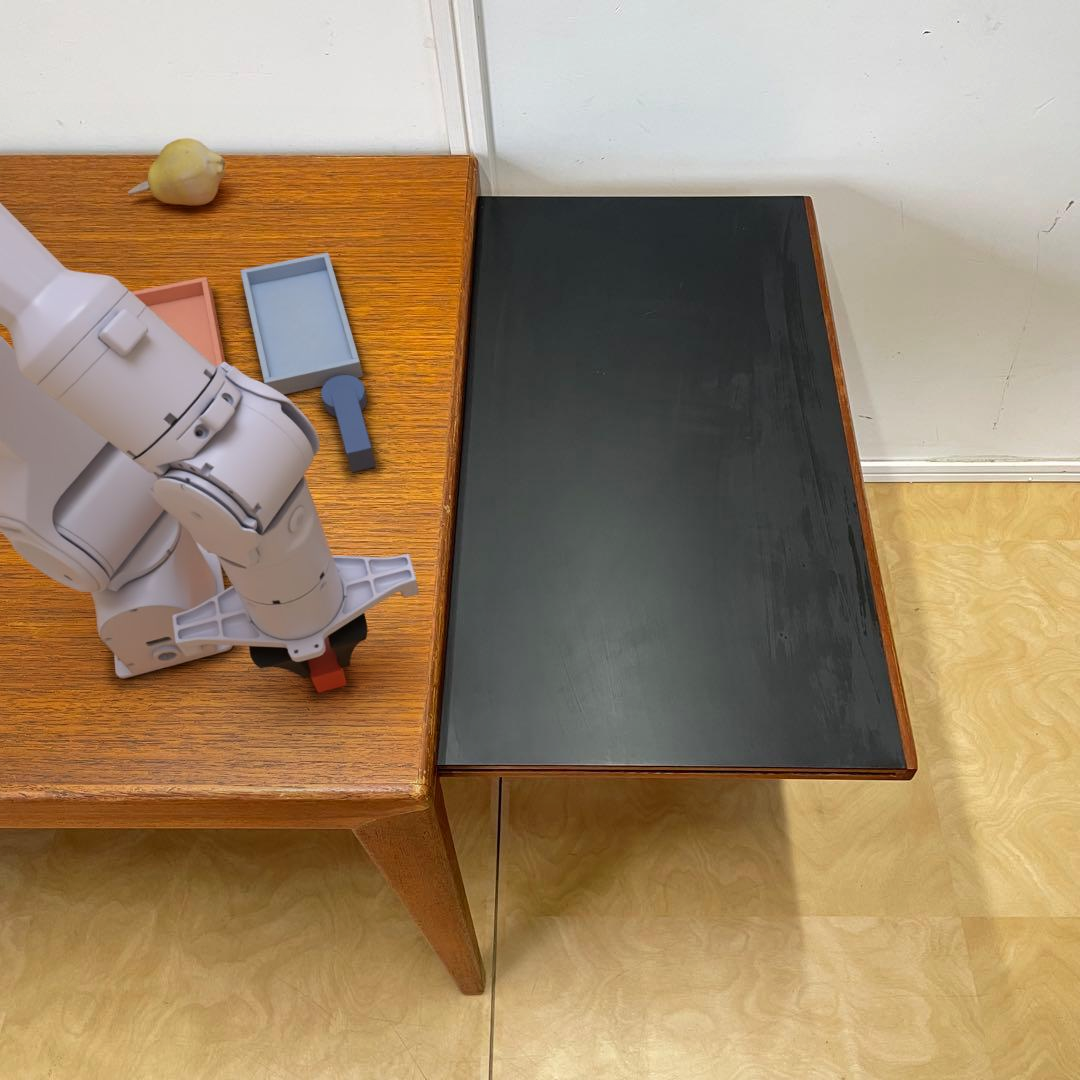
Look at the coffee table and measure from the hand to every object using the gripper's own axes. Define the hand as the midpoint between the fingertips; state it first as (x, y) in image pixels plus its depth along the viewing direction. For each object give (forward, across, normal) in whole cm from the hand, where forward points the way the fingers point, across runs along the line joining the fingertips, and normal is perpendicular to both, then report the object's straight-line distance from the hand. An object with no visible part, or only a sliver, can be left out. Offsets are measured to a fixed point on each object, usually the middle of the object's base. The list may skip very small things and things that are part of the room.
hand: (323, 659), depth 63 cm
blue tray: (+1, +4, +33) cm, 33 cm away
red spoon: (+1, 0, +3) cm, 3 cm away
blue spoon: (+1, +6, +21) cm, 22 cm away
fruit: (+2, -4, +54) cm, 54 cm away
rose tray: (+1, -7, +33) cm, 34 cm away
